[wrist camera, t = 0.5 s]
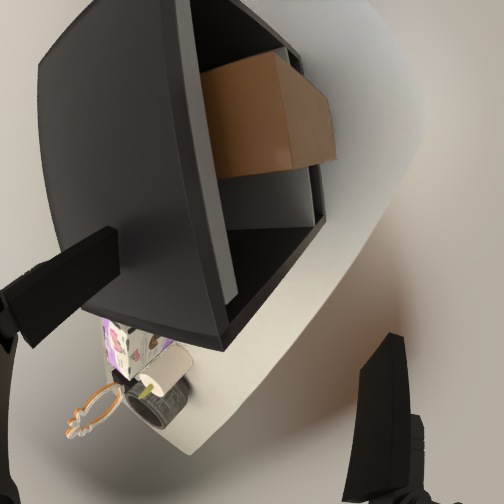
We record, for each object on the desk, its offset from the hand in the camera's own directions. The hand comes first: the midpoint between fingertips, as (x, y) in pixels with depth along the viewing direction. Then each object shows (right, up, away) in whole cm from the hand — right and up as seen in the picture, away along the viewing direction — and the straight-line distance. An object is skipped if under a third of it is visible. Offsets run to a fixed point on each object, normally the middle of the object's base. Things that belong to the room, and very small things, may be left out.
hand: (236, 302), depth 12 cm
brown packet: (+3, +14, +14) cm, 19 cm away
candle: (-15, -21, +44) cm, 51 cm away
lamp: (-40, -40, +66) cm, 87 cm away
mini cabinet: (+2, +16, +21) cm, 26 cm away
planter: (-19, -30, +50) cm, 61 cm away
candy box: (-13, -7, +38) cm, 40 cm away
